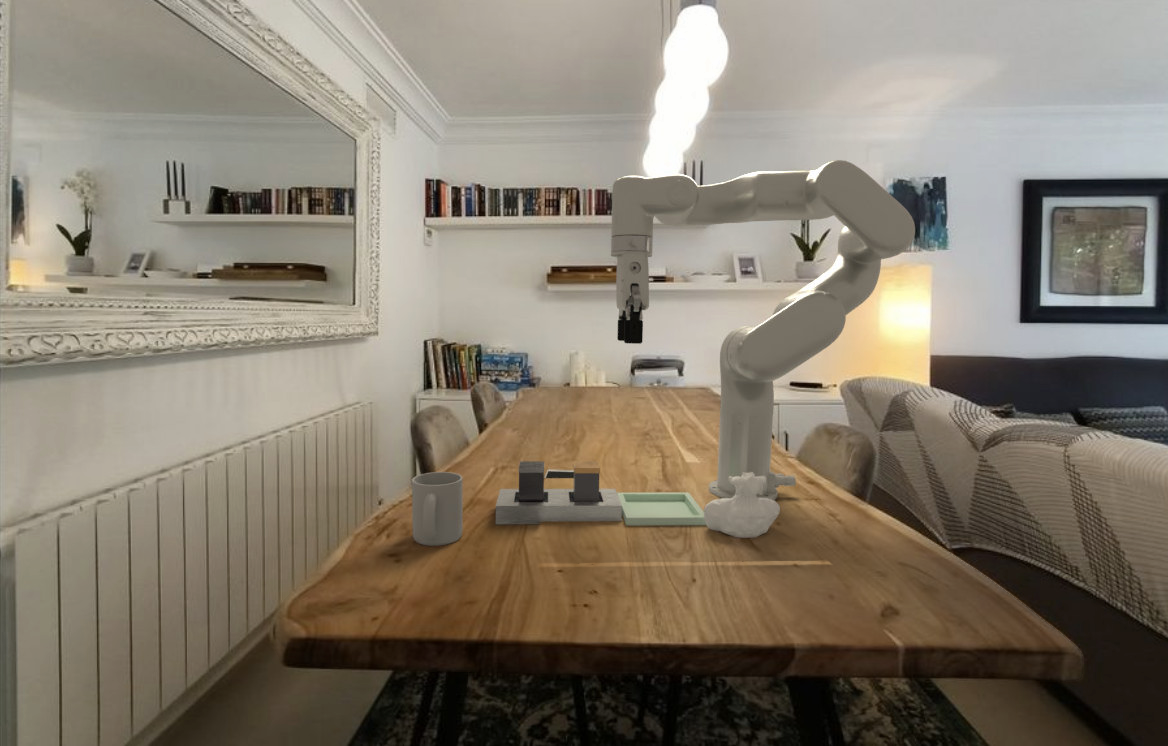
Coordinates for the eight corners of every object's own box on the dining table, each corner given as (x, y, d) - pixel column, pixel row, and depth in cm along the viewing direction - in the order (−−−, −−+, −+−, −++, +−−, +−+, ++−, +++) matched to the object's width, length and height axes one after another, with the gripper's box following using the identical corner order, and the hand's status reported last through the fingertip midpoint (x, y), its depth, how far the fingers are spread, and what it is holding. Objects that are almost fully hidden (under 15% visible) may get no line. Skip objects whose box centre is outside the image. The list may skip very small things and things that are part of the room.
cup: (466, 528, 91) (466, 472, 91) (454, 554, 82) (453, 491, 81) (419, 528, 91) (419, 471, 90) (401, 554, 81) (400, 491, 80)
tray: (688, 501, 106) (688, 492, 106) (707, 527, 94) (708, 517, 93) (616, 501, 106) (616, 492, 105) (626, 528, 93) (626, 517, 92)
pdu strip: (614, 505, 104) (616, 458, 103) (621, 523, 95) (622, 471, 94) (500, 505, 102) (500, 457, 101) (495, 524, 93) (495, 471, 92)
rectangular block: (596, 507, 101) (597, 461, 100) (598, 515, 97) (599, 467, 96) (572, 507, 101) (573, 461, 100) (573, 515, 96) (574, 467, 96)
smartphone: (538, 495, 110) (539, 490, 110) (547, 473, 125) (547, 468, 125) (577, 496, 110) (577, 491, 109) (581, 474, 125) (581, 469, 125)
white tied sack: (704, 550, 90) (721, 508, 82) (693, 507, 96) (709, 465, 88) (779, 548, 91) (803, 507, 84) (765, 506, 97) (786, 464, 89)
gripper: (661, 243, 99) (658, 344, 101) (644, 253, 116) (641, 340, 118) (616, 242, 99) (614, 344, 100) (606, 252, 116) (604, 339, 118)
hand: (629, 341), depth 109 cm, fingers open, 9 cm apart
